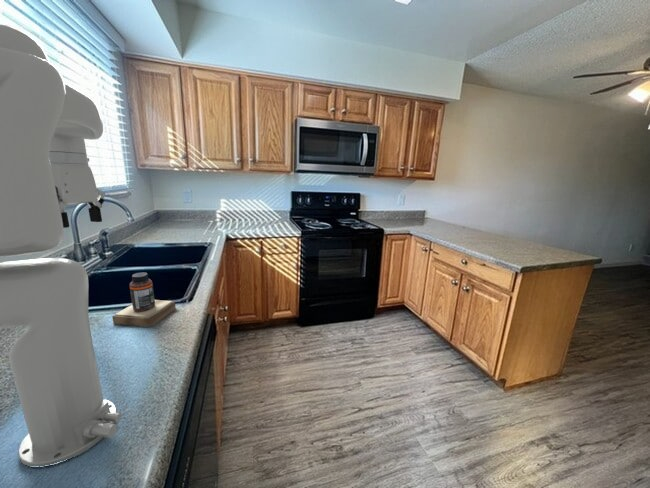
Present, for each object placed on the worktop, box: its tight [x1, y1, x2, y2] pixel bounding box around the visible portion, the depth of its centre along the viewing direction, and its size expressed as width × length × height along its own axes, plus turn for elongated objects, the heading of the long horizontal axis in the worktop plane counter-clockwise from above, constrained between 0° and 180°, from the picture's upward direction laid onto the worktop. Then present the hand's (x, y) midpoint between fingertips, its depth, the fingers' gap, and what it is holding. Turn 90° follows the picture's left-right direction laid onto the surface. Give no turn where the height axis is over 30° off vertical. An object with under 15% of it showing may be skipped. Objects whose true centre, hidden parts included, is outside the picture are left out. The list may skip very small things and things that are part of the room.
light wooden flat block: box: [112, 299, 177, 328], centre depth 88 cm, size 12×12×3 cm
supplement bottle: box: [129, 272, 156, 312], centre depth 86 cm, size 6×6×11 cm
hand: (80, 224), depth 77 cm, fingers open, 9 cm apart
